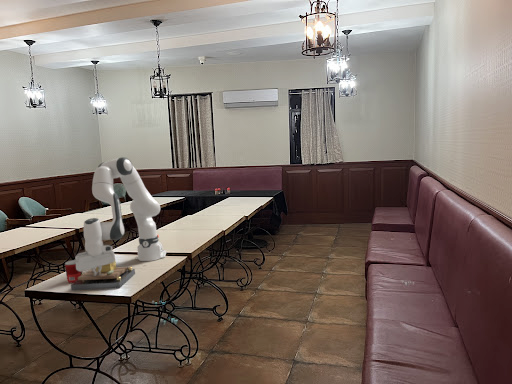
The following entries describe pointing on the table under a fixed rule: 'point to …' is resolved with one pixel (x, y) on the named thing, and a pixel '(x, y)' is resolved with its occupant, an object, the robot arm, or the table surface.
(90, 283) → the grey tray
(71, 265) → the canned food
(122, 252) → the table surface
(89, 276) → the level plate
